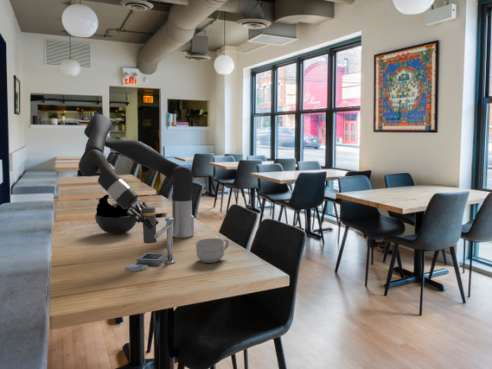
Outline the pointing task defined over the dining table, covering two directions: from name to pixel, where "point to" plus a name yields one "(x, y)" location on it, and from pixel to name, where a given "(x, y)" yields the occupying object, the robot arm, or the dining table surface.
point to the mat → (136, 267)
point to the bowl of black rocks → (113, 218)
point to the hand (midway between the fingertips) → (154, 226)
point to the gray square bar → (164, 228)
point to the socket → (152, 258)
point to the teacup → (211, 249)
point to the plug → (151, 216)
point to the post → (170, 246)
